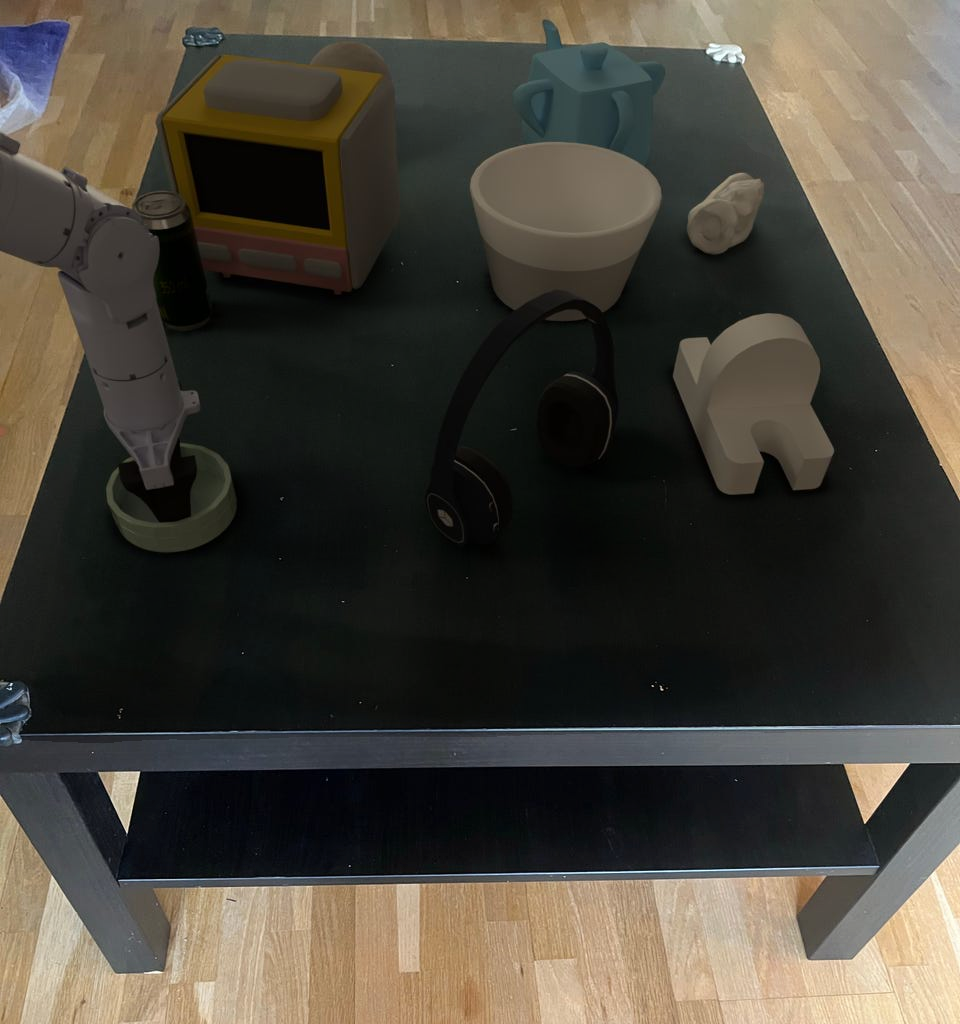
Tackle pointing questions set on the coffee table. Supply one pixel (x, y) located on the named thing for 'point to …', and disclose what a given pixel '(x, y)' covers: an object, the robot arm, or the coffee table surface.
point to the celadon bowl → (207, 520)
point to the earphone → (560, 425)
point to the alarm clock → (285, 169)
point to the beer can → (176, 261)
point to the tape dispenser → (755, 402)
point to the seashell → (351, 58)
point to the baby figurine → (726, 214)
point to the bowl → (562, 221)
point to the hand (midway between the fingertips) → (172, 494)
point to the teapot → (589, 97)
